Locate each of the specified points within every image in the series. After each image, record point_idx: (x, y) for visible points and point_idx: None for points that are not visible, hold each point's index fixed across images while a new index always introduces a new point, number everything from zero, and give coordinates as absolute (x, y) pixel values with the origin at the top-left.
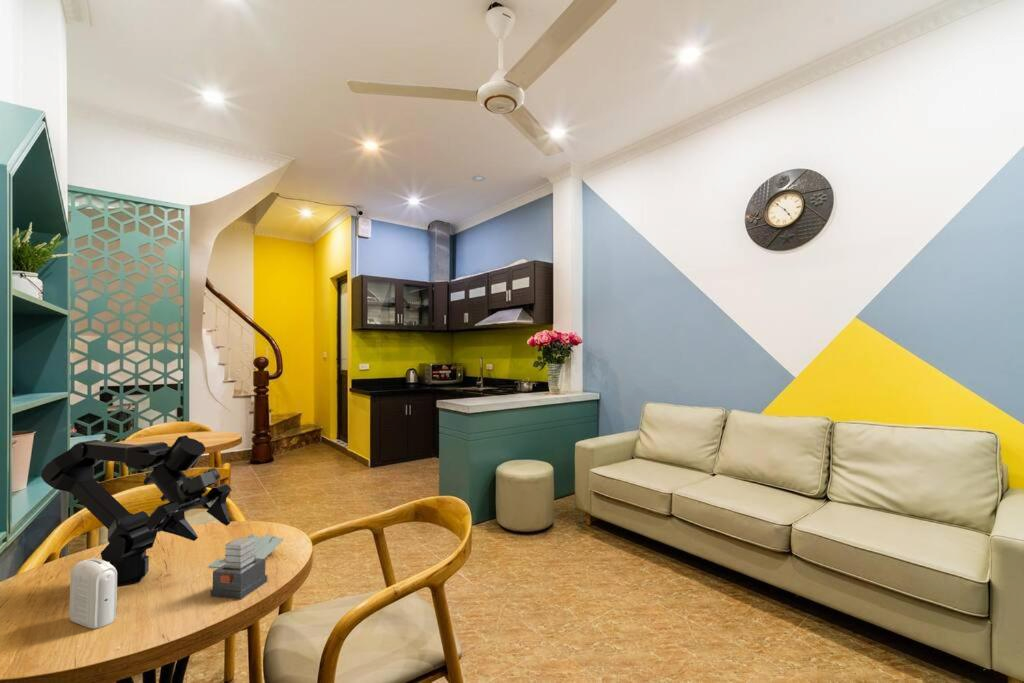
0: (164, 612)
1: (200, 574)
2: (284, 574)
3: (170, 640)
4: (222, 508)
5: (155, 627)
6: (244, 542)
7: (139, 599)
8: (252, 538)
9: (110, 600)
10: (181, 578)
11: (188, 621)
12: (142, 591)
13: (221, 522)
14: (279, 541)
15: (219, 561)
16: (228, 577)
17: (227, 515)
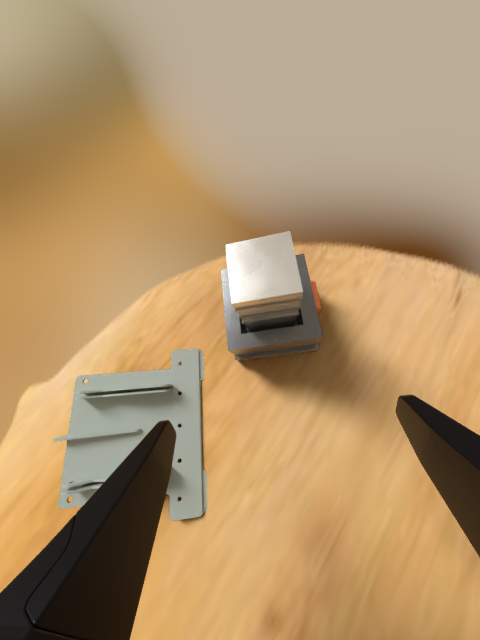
0: (406, 391)
1: (242, 495)
2: (199, 284)
3: (458, 271)
4: (79, 555)
5: (452, 346)
6: (266, 239)
7: (404, 546)
8: (229, 246)
9: None
10: (275, 537)
11: (400, 301)
12: (372, 596)
13: (168, 481)
14: (89, 380)
15: (179, 501)
16: (315, 285)
17: (126, 463)
